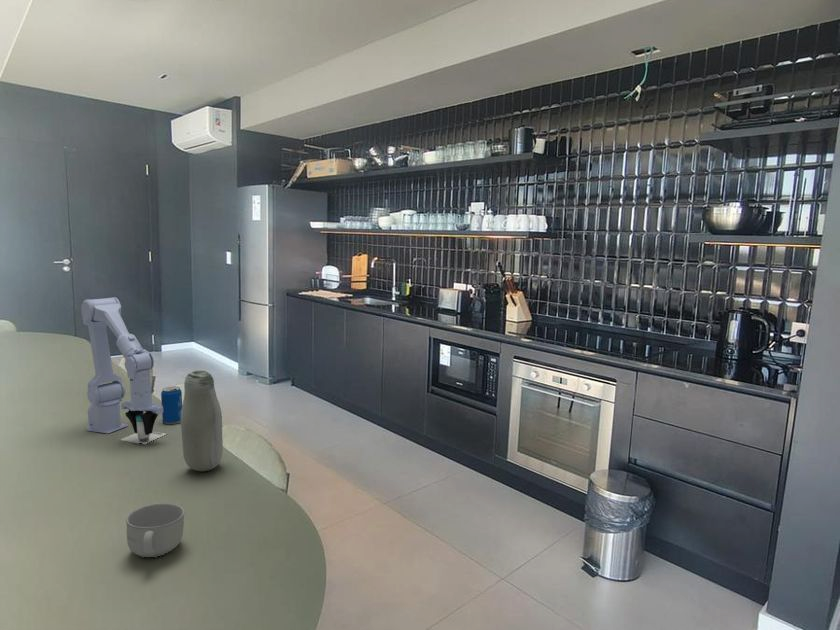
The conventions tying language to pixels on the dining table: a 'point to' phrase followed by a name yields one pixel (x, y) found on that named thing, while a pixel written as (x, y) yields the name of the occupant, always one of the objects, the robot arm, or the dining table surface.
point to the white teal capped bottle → (141, 429)
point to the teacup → (155, 529)
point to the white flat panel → (135, 439)
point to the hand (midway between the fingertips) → (143, 433)
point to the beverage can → (171, 404)
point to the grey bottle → (201, 422)
